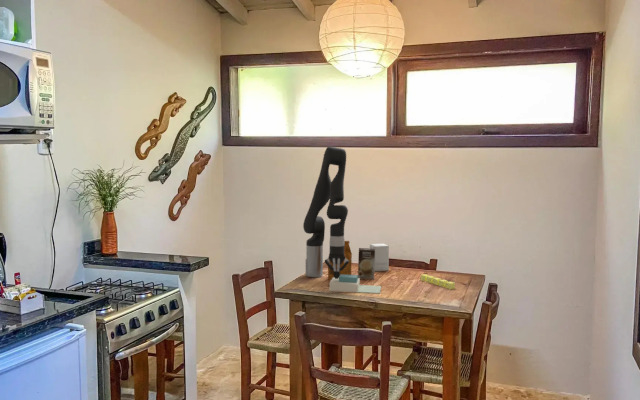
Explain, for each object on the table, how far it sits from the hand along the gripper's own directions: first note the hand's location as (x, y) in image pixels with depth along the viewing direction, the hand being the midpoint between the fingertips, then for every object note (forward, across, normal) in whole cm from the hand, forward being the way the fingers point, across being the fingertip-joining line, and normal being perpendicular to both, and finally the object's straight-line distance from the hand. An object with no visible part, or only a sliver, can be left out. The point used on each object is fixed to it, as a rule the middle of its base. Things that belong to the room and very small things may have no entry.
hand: (336, 278), depth 265 cm
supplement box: (+5, +18, +50) cm, 53 cm away
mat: (+5, +17, 0) cm, 17 cm away
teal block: (+1, +6, 0) cm, 6 cm away
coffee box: (+5, +13, +26) cm, 30 cm away
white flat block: (+5, +4, 0) cm, 7 cm away
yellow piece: (+6, +52, +21) cm, 56 cm away
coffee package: (+5, -1, +18) cm, 19 cm away
